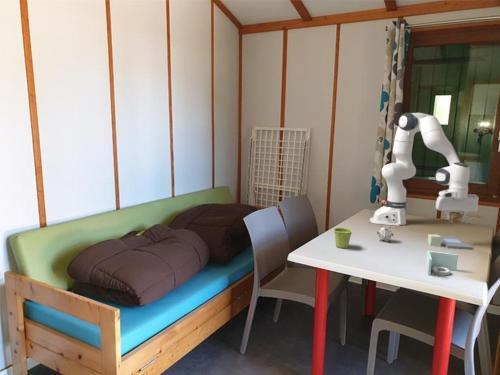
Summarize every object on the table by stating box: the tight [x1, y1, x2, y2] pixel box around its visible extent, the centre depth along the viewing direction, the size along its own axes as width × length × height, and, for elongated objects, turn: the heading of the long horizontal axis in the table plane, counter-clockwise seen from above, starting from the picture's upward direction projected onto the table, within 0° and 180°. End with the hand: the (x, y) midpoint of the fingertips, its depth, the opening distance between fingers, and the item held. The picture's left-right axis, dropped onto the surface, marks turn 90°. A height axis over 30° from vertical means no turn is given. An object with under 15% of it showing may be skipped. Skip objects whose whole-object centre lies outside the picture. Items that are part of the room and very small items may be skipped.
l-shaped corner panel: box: [425, 250, 459, 277], centre depth 162 cm, size 12×12×8 cm
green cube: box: [427, 233, 442, 247], centre depth 202 cm, size 5×5×5 cm
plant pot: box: [333, 227, 353, 249], centre depth 195 cm, size 9×9×9 cm
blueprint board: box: [438, 234, 473, 251], centre depth 206 cm, size 12×20×1 cm, turn 172°
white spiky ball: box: [376, 225, 395, 243], centre depth 206 cm, size 9×8×10 cm
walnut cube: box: [447, 211, 463, 225], centre depth 203 cm, size 5×5×5 cm
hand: (455, 219), depth 204 cm, fingers closed on walnut cube, 5 cm apart
